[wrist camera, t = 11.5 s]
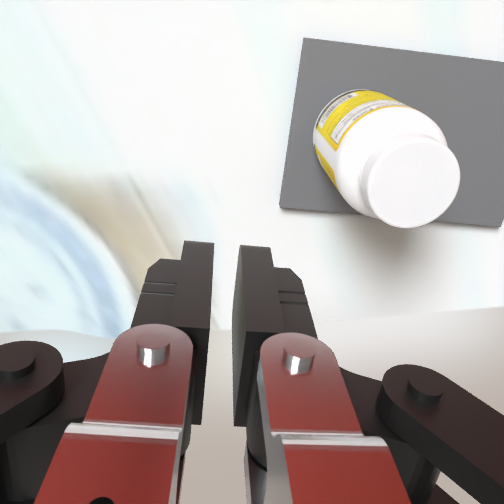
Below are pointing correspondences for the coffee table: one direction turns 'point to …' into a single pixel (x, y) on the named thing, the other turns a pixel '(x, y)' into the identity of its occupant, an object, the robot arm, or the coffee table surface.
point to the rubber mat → (415, 96)
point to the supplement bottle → (386, 158)
